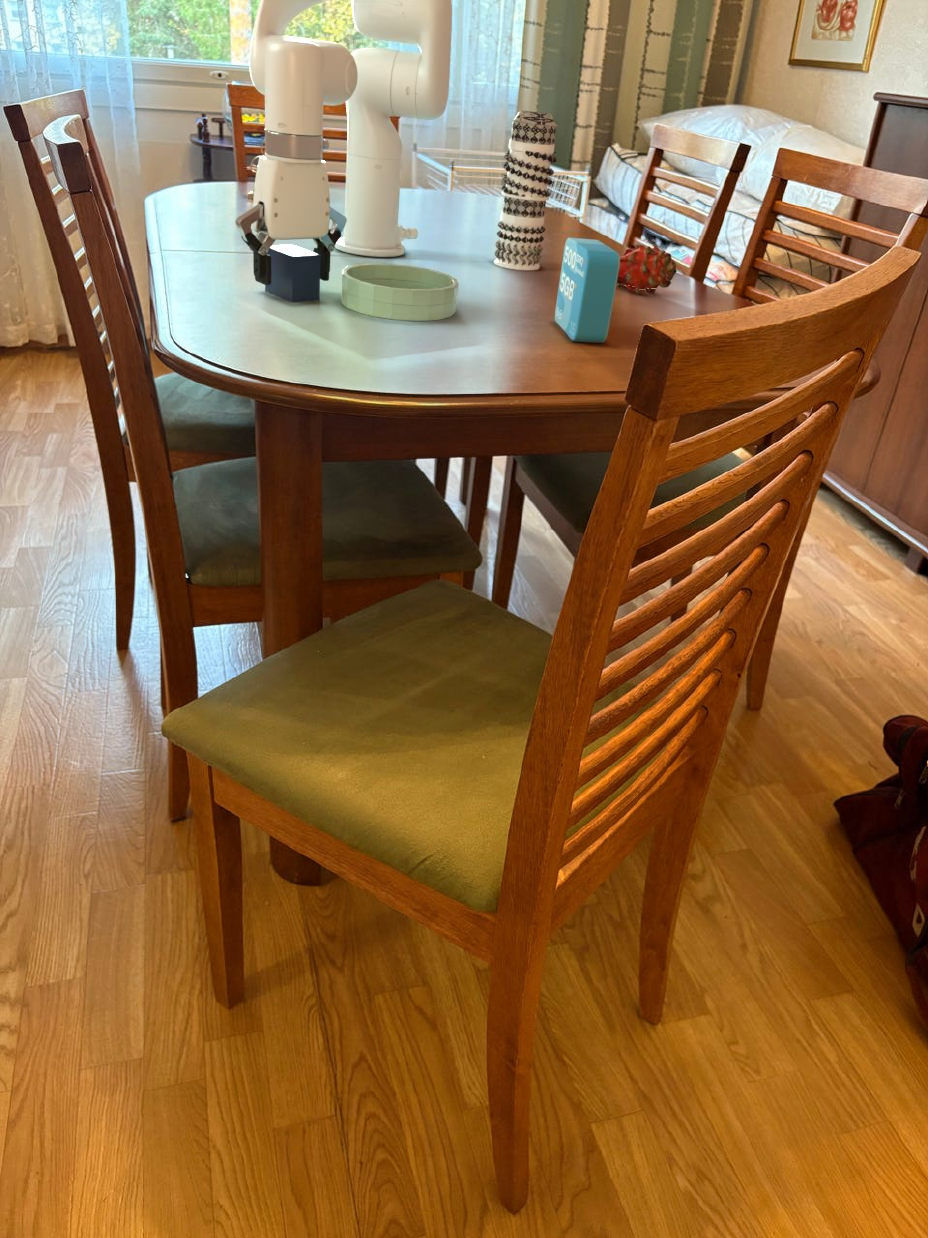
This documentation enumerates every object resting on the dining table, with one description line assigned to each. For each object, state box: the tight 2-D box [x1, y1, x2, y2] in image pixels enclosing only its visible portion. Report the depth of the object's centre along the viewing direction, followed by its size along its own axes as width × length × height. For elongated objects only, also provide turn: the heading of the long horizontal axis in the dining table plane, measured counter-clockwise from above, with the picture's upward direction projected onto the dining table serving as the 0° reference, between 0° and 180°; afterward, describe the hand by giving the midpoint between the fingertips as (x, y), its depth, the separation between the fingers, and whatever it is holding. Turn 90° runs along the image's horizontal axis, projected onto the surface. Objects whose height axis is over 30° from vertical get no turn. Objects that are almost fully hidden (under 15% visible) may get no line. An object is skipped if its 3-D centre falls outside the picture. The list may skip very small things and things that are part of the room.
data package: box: [554, 237, 620, 344], centre depth 133 cm, size 12×4×12 cm, turn 10°
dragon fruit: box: [616, 243, 678, 295], centre depth 165 cm, size 8×8×12 cm
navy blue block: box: [264, 244, 321, 303], centre depth 135 cm, size 5×7×6 cm, turn 42°
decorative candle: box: [493, 110, 558, 271], centre depth 170 cm, size 9×9×25 cm
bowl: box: [340, 263, 459, 322], centre depth 137 cm, size 16×16×4 cm
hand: (292, 280), depth 136 cm, fingers open, 9 cm apart
